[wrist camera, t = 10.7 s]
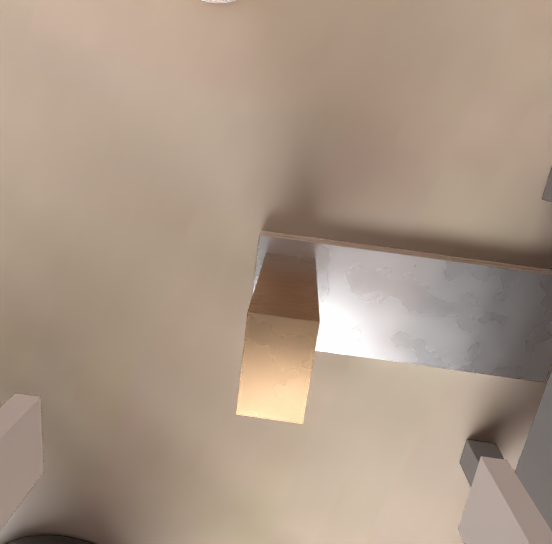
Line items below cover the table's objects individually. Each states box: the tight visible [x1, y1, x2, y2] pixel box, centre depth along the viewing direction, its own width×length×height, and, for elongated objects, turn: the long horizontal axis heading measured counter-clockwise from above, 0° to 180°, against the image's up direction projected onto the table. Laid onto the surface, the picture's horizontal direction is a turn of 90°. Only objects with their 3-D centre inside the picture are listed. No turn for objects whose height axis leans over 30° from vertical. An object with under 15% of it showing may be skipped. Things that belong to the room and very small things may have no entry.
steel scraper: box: [236, 230, 552, 424], centre depth 24 cm, size 19×7×10 cm, turn 83°
